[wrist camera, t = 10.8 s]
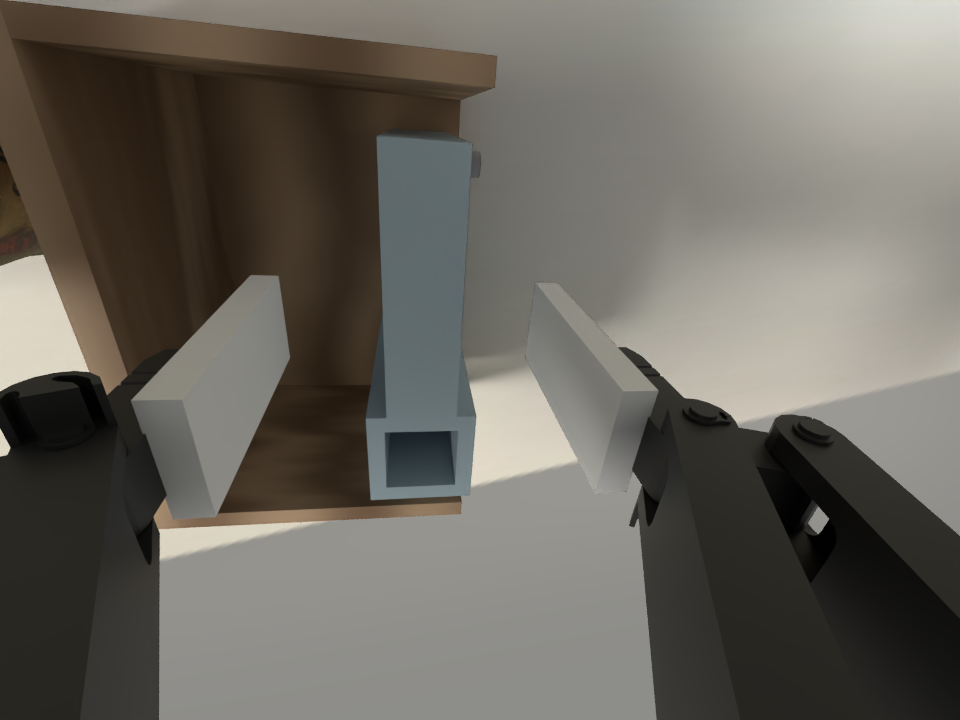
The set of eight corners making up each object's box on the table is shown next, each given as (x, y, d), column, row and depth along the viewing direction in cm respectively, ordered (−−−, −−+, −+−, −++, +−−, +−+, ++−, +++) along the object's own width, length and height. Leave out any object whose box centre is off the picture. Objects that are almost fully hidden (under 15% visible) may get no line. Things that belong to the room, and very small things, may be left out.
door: (385, 366, 30) (370, 500, 19) (377, 126, 23) (347, 134, 13) (452, 366, 31) (474, 495, 20) (464, 133, 24) (505, 145, 13)
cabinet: (241, 387, 30) (151, 529, 20) (171, 53, 21) (-60, -7, 11) (445, 386, 32) (460, 513, 22) (459, 83, 23) (497, 55, 13)
